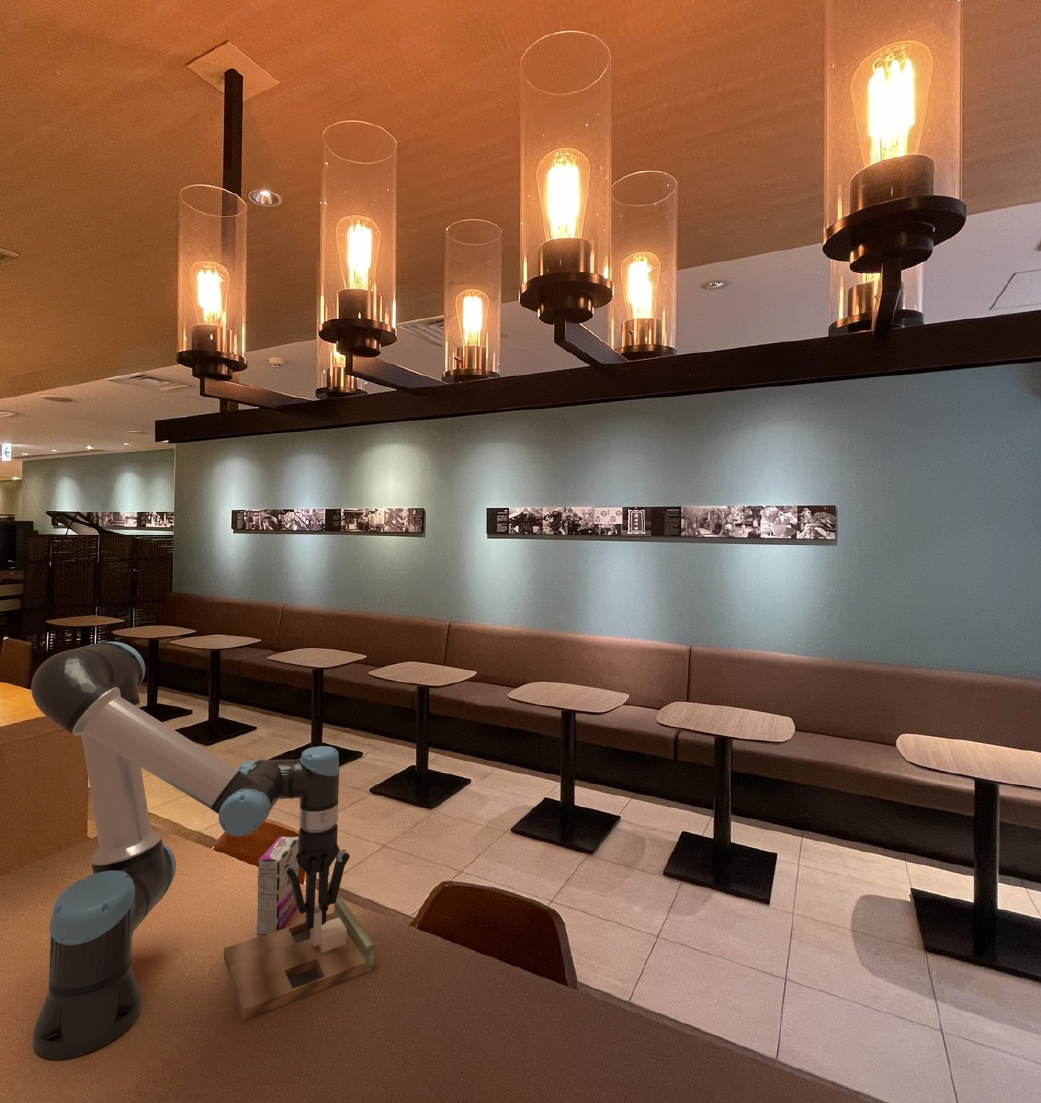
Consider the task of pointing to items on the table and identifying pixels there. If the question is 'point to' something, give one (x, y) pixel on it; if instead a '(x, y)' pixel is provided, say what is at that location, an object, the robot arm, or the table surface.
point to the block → (333, 935)
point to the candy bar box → (276, 885)
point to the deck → (294, 964)
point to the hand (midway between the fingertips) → (315, 941)
